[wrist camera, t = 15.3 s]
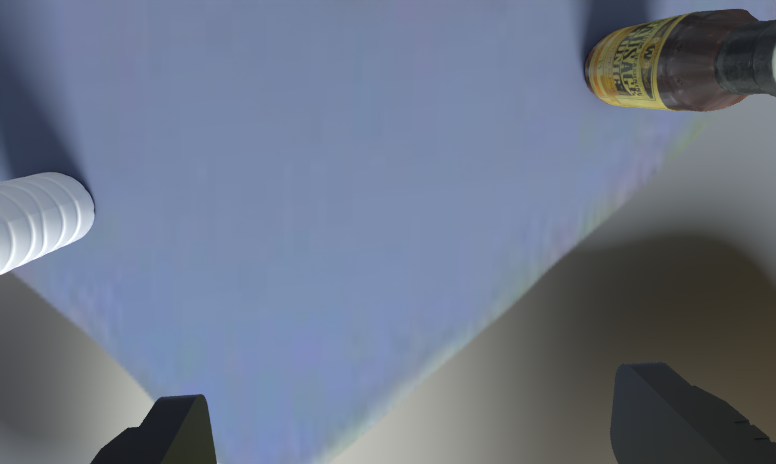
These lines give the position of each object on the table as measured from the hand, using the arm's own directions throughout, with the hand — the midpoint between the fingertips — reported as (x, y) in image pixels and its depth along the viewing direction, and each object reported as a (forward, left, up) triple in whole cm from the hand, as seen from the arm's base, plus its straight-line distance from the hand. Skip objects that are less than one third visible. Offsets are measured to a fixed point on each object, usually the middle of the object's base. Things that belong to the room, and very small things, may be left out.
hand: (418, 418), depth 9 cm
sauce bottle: (+21, +7, -36) cm, 42 cm away
